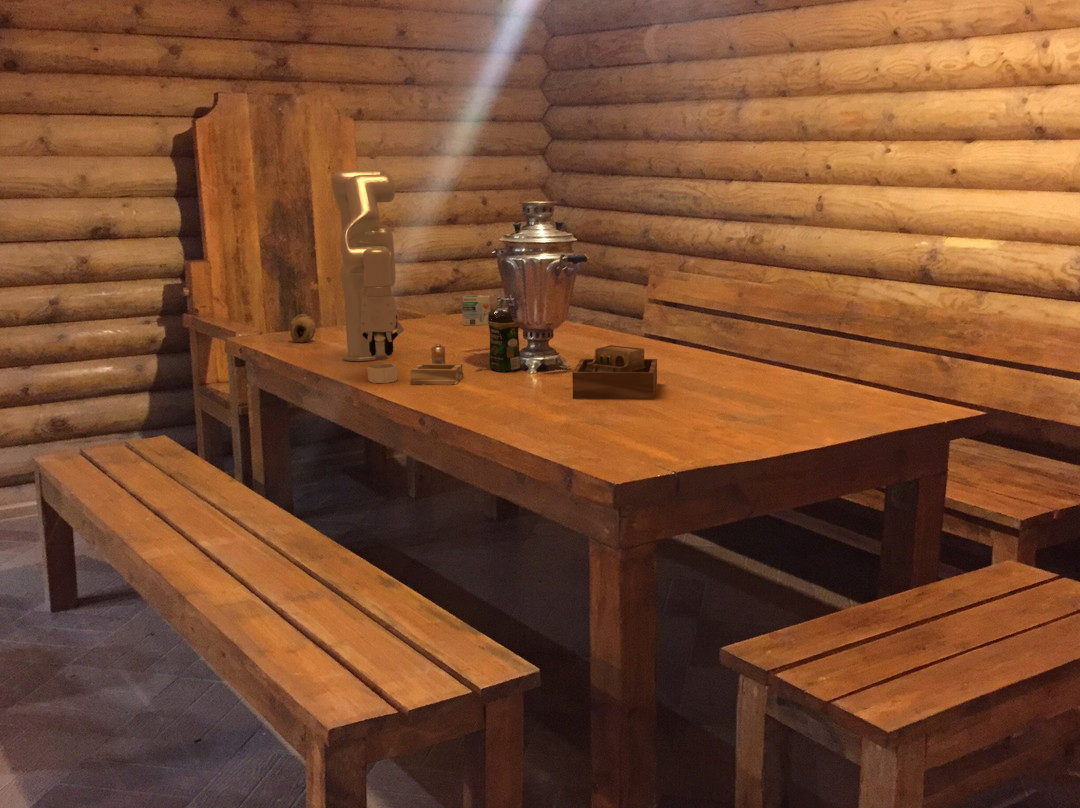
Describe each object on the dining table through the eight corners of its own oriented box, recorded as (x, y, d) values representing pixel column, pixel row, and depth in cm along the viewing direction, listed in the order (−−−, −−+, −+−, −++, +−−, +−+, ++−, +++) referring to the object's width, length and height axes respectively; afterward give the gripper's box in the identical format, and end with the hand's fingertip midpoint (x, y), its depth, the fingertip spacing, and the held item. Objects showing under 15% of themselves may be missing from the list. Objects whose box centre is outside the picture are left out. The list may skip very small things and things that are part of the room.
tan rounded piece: (288, 341, 411) (286, 313, 409) (312, 339, 414) (310, 311, 412) (295, 345, 403) (293, 316, 400) (319, 342, 406) (317, 314, 404)
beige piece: (373, 378, 341) (372, 363, 340) (399, 378, 340) (399, 363, 339) (365, 383, 334) (364, 368, 333) (392, 383, 332) (391, 368, 331)
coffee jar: (485, 369, 351) (483, 308, 347) (506, 366, 355) (504, 306, 351) (503, 373, 343) (501, 311, 339) (525, 370, 348) (523, 309, 344)
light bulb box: (463, 325, 437) (462, 297, 435) (462, 323, 444) (461, 295, 442) (491, 324, 438) (490, 296, 436) (490, 322, 445) (489, 294, 442)
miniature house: (607, 383, 327) (607, 343, 325) (649, 388, 319) (649, 347, 316) (576, 392, 316) (575, 351, 313) (618, 398, 307) (618, 356, 305)
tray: (420, 376, 342) (419, 363, 341) (463, 376, 340) (462, 363, 339) (410, 384, 331) (409, 370, 330) (454, 384, 329) (454, 371, 328)
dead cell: (377, 357, 337) (375, 328, 336) (390, 357, 337) (389, 328, 335) (373, 360, 333) (371, 330, 332) (386, 360, 333) (385, 330, 331)
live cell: (434, 371, 349) (432, 343, 347) (447, 372, 348) (446, 343, 346) (430, 374, 345) (429, 345, 343) (444, 374, 344) (443, 345, 342)
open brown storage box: (581, 382, 327) (580, 358, 326) (656, 383, 324) (656, 359, 323) (572, 398, 308) (572, 372, 306) (653, 399, 305) (653, 373, 303)
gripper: (346, 293, 329) (350, 357, 332) (403, 293, 326) (406, 357, 330) (354, 290, 336) (357, 353, 340) (409, 290, 333) (413, 352, 337)
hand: (381, 354), depth 335 cm, fingers closed on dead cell, 4 cm apart
